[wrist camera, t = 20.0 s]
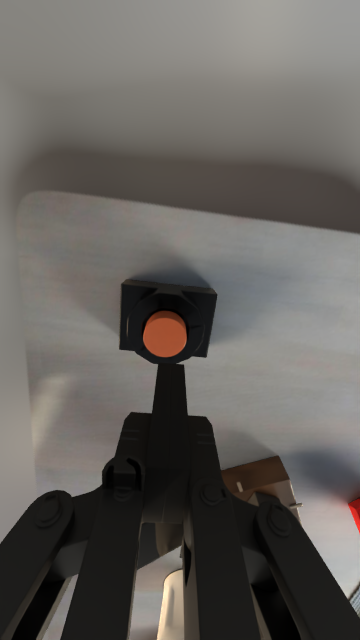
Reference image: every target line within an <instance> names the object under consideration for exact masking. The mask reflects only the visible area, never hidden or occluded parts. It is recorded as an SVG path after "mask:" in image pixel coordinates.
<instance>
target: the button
mask: <svg viewBox="0 0 360 640" xmlns="http://www.w3.org/2000/svg"><path fill="white" fill-rule="evenodd" d="M186 338H187V337H186V327H185V323H184V321H183V319H182V318H181V317H180V316H179V315H178V314H176V313H174V312H172V311H159V312H157V313H155V314H153V315H152V316H151V317H150V318H149V320H148V322H147V324H146V327H145V330H144V334H143V340H144V344H145V346H146V347H147V349H148V350H149V351H150V352H151V353H153V354H155V355H157V356H160V357H170V356H174V355H176V354H177V353H179V352H180V351H181V350H182V349H183V348H184V346H185V343H186Z"/></svg>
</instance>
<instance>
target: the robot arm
mask: <svg viewBox="0 0 360 640" xmlns="http://www.w3.org/2000/svg"><path fill="white" fill-rule="evenodd" d="M142 522H152V523H174V524H182V523H183V522H184V535H183V540H182V546H181V552H180V558H182V561H183V606H184V640H261V636H260V631H259V627H258V623H259V626H260V628H261V631H262V634H263V637H264V639H265V640H360V618H359V616H358V615H357V613H356V612H355V610H354V608H353V607H352V605H351V604H350V602H349V600H348V599H347V597H346V596H345V594H344V593H343V591H342V589H341V588H340V586H339V585H338V583H337V581H336V580H335V578H334V577H333V575H332V574H331V572H330V570H329V569H328V567H327V566H326V564H325V562H324V561H323V559H322V558H321V556H320V554H319V553H318V551H317V550H316V548H315V547H314V545H313V543H312V542H311V540H310V539H309V537H308V535H307V534H306V532H305V531H304V529H303V528H302V526H301V524H300V523H299V521H298V520H297V518H296V517H295V516H294V514H293V513H292V512H291V511H290V510H289V509H288V508H287V507H286V506H284V505H283V504H281V503H279V502H276V501H274V500H266V501H264V502H262V503H260V505H259V507H258V506H256V505H253V504H251V503H248V502H246V501H243V500H241V499H239V498H238V497H236V496H235V495H234V494H232V493H231V492H230V491H229V489H228V488H227V487H226V485H225V483H224V481H223V478H222V474H221V469H220V464H219V459H218V454H217V448H216V445H215V438H214V433H213V428H212V425H211V423H210V422H209V420H208V419H207V417H203V416H189V415H188V413H187V399H186V385H185V371H184V365H182V364H170V363H158V370H157V378H156V386H155V394H154V402H153V410H152V414H151V413H137V412H131V413H130V414H129V415H128V416H127V418H126V419H125V420H124V424H123V427H122V432H121V435H120V439H119V442H118V446H117V450H116V453H115V457H114V458H112V459H111V460H110V461H109V462H108V463H107V464H106V465H105V467H104V469H103V471H102V485H101V486H100V487H98V488H97V489H95V490H94V491H91V492H89V493H86V494H82V495H79V496H75V497H71V495H70V494H69V493H67V492H65V491H61V490H54V491H51V492H47V493H45V494H43V495H42V496H40V497H38V498H37V499H36V500H35V501H34V502H33V503H32V504H31V505H30V506H29V507H28V509H27V510H26V511H25V513H24V514H23V515H22V516H21V518H20V519H19V520H18V521H17V523H16V524H15V525H14V527H13V528H12V529H11V531H10V532H9V533H8V534H7V536H6V537H5V538H4V540H3V541H2V542H1V544H0V640H42V638H43V636H44V634H45V632H46V630H47V628H48V626H49V624H50V622H51V620H52V618H53V616H54V614H55V612H56V610H57V607H58V605H59V603H60V601H61V599H62V597H63V595H64V593H65V591H66V589H67V587H68V585H69V583H70V581H71V578H72V576H74V575H77V574H79V575H78V579H77V582H76V586H75V589H74V593H73V596H72V600H71V604H70V607H69V611H68V614H67V618H66V621H65V625H64V628H63V632H62V636H61V639H60V640H129V635H130V626H131V617H132V608H133V599H134V590H135V581H136V572H137V563H138V554H139V545H140V533H141V524H142ZM257 620H258V622H257Z"/></svg>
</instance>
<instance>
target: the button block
mask: <svg viewBox="0 0 360 640" xmlns="http://www.w3.org/2000/svg"><path fill="white" fill-rule="evenodd" d="M216 300H217V293H216V292H215V290H214V289H211V288H202V287H192V286H183V285H174V284H165V283H156V282H147V281H137V280H128V279H126V280H125V281H124V282H123V283H122V284H121V299H120V332H119V350H129V351H135V352H136V353H137V354H138V355H140V356H141V357H143V358H145V359H146V360H148V361H149V362H151V363H153V364H158V363H170V364H176V363H179V362H181V361H184V360H186V359H189V358H190V357H191V356H195V357H205V358H206V357H207V353H208V347H209V341H210V335H211V330H212V324H213V318H214V312H215V306H216ZM159 311H172V312H174V313H176V314H178V315H179V316H180V317H181V318H182V319H183V321H184V323H185V327H186V337H187V338H186V343H185V346H184V348H183V349H182V350H181V351H180V352H179V353H177V354H176V355H174V356H170V357H160V356H157V355H155V354H153V353H151V352H150V351H149V350H148V349H147V347H146V346H145V344H144V340H143V334H144V330H145V327H146V324H147V322H148V320H149V318H150V317H151V316H152V315H153V314H155V313H157V312H159Z"/></svg>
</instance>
